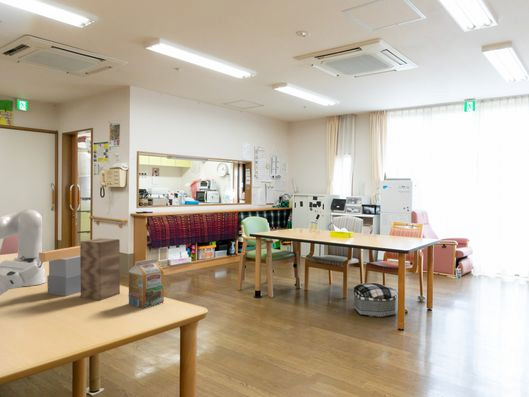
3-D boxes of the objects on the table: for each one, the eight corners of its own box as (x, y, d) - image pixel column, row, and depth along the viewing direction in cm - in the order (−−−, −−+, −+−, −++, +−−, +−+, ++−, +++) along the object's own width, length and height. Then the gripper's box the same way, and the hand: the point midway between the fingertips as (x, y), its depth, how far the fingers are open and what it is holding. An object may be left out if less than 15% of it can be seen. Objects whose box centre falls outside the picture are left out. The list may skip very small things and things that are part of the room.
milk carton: (149, 298, 183) (149, 257, 182) (163, 303, 176) (163, 260, 176) (128, 303, 175) (128, 260, 174) (142, 308, 168) (142, 263, 167)
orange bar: (38, 261, 182) (38, 252, 182) (81, 253, 204) (81, 245, 204) (45, 261, 181) (45, 253, 181) (87, 254, 203) (87, 246, 203)
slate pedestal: (47, 293, 191) (47, 258, 191) (68, 287, 202) (68, 254, 202) (66, 296, 187) (65, 259, 186) (86, 290, 198) (86, 255, 197)
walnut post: (80, 297, 184) (80, 241, 184) (100, 291, 196) (100, 238, 195) (100, 300, 180) (100, 242, 179) (119, 293, 191) (119, 239, 190)
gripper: (-9, 282, 171) (18, 261, 182) (24, 287, 163) (50, 265, 174) (-17, 270, 168) (11, 250, 179) (17, 275, 160) (44, 253, 171)
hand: (30, 257), depth 176 cm, fingers open, 8 cm apart
